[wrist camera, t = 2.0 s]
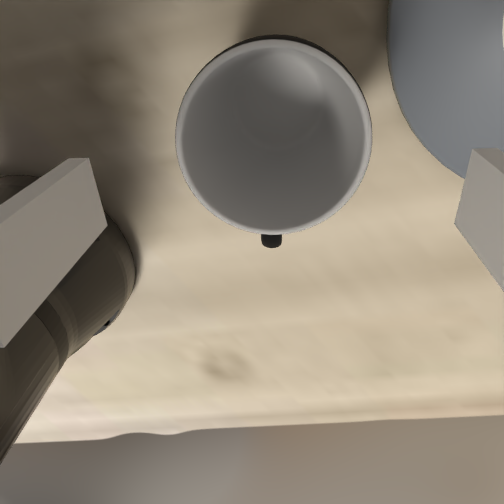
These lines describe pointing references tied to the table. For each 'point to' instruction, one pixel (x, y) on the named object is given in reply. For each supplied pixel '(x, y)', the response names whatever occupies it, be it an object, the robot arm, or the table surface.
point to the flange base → (449, 74)
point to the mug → (273, 136)
